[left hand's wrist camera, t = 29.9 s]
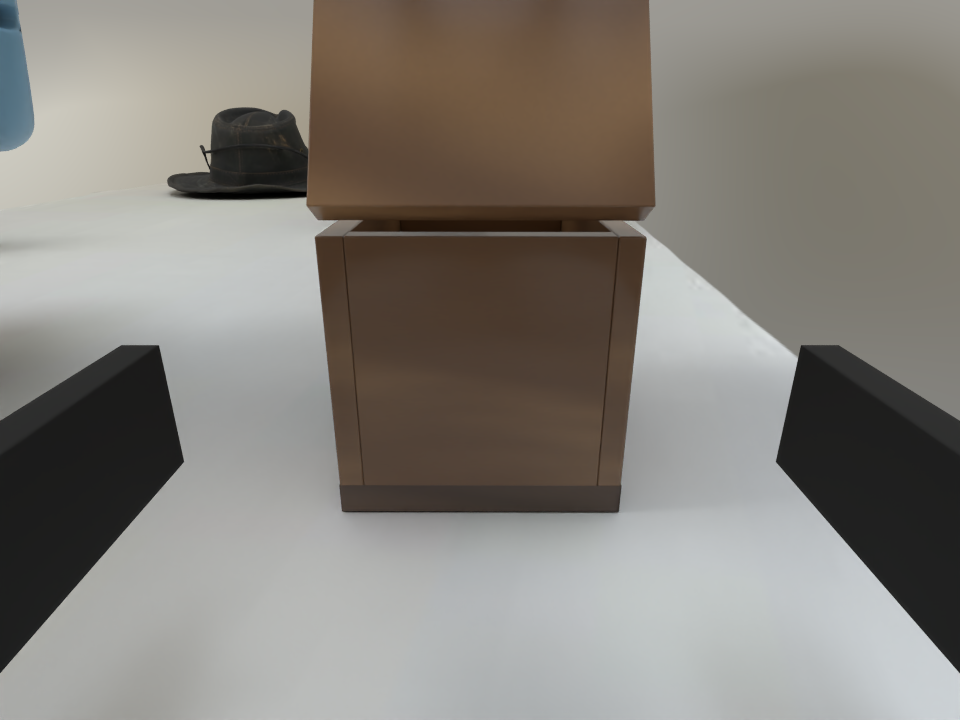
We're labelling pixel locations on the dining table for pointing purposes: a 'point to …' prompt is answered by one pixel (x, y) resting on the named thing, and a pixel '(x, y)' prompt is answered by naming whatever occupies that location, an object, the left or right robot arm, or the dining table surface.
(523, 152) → the lid
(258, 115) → the hat
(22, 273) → the dining table surface
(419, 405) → the chest
